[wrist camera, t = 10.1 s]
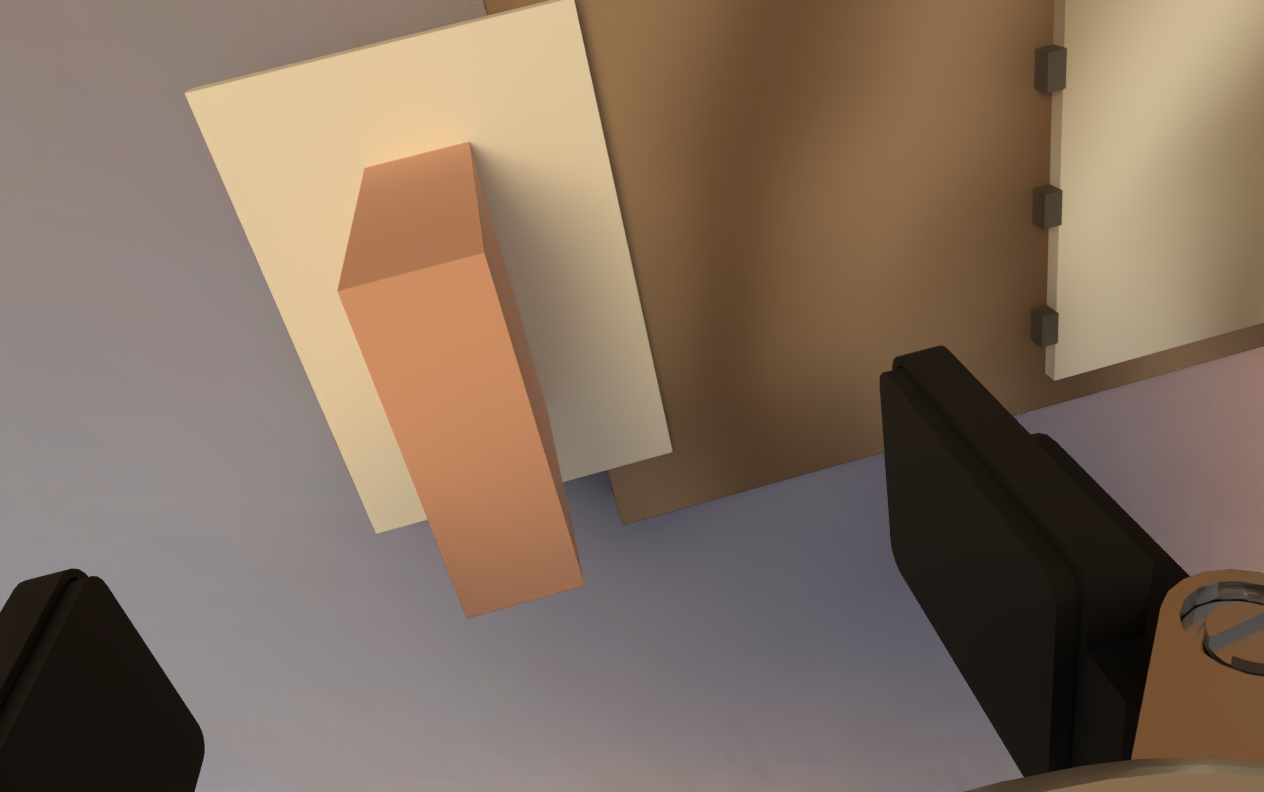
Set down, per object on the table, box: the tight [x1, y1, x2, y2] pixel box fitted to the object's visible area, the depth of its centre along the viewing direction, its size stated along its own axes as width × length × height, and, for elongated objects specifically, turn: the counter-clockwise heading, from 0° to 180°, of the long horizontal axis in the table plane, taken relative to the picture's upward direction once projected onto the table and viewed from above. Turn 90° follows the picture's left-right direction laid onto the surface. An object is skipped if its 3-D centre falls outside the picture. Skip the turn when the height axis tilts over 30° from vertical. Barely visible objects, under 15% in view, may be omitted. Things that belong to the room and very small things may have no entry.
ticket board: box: [483, 0, 1264, 525], centre depth 20 cm, size 24×14×3 cm, turn 102°
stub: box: [185, 0, 673, 618], centre depth 17 cm, size 7×10×6 cm
